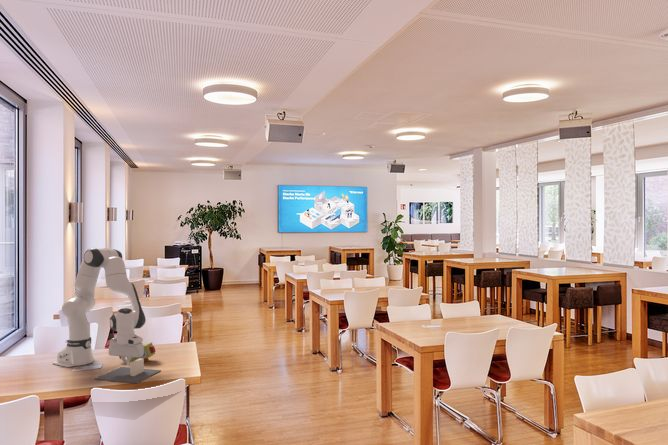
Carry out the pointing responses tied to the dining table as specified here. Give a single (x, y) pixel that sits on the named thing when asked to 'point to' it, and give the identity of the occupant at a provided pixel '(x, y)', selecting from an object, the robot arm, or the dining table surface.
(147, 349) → the toy
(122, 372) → the mat
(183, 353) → the dining table surface
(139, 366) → the cream tile
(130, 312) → the robot arm
